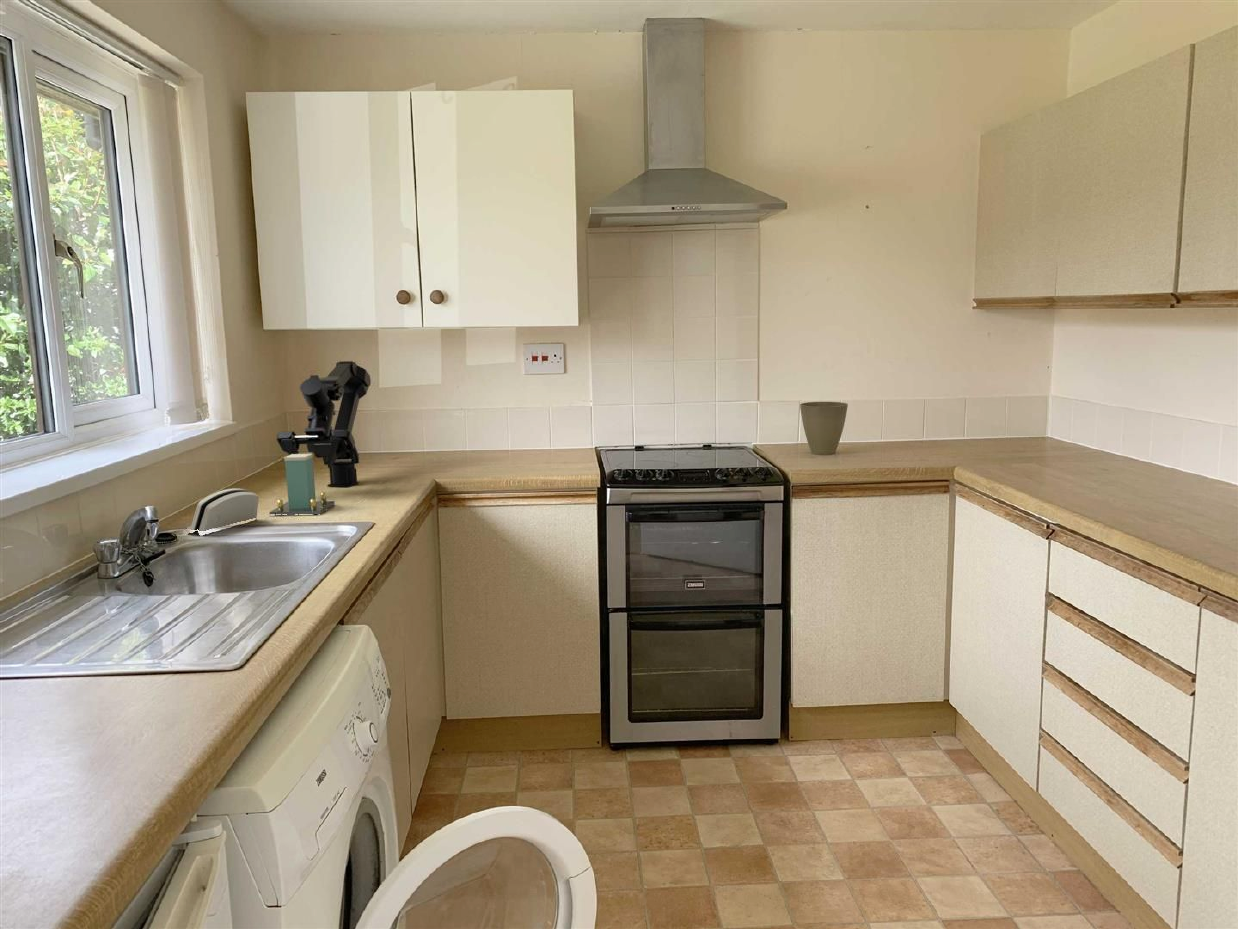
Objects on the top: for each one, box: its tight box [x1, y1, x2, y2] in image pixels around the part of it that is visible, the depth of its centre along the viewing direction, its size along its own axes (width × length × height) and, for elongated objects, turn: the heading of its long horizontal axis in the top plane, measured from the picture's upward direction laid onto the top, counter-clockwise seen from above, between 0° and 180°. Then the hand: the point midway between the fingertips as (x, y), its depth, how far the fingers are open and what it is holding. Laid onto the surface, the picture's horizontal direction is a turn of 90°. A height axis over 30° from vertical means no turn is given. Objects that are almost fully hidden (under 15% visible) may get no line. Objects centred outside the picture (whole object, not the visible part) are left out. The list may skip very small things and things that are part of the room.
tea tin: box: [283, 453, 317, 509], centre depth 226 cm, size 5×5×13 cm
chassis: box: [269, 492, 335, 515], centre depth 227 cm, size 12×12×4 cm
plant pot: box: [799, 401, 849, 456], centre depth 295 cm, size 15×15×16 cm
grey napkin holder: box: [186, 488, 259, 531], centre depth 210 cm, size 17×5×10 cm, turn 158°
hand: (310, 467), depth 234 cm, fingers open, 9 cm apart
